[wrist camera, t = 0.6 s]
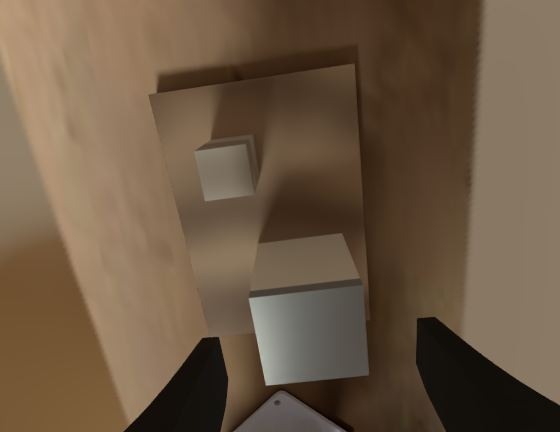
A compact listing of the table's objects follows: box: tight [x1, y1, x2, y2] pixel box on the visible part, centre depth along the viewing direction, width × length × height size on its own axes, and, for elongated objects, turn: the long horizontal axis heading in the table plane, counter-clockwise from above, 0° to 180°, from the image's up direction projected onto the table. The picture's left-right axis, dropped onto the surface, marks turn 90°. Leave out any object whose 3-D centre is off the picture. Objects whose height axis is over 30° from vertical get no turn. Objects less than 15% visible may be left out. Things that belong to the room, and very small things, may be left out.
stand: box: [149, 63, 370, 337], centre depth 20 cm, size 16×11×5 cm
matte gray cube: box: [249, 233, 369, 386], centre depth 19 cm, size 5×5×6 cm
